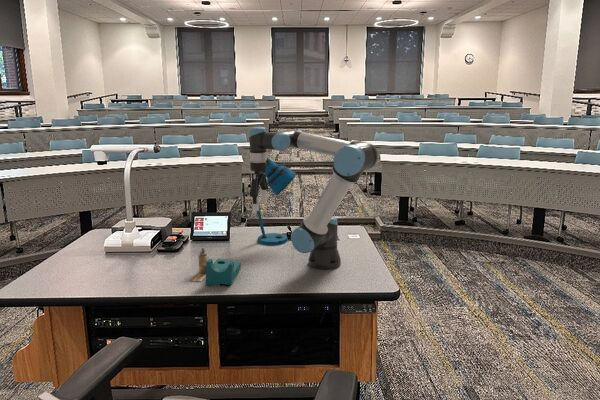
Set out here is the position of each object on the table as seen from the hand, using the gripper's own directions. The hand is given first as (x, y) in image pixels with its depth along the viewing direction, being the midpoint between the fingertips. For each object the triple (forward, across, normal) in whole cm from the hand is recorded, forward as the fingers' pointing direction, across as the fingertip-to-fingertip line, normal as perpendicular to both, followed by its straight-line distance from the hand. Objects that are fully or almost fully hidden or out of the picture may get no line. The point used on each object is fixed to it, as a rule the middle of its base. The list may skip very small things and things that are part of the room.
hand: (259, 207), depth 225 cm
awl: (+26, +19, -21) cm, 39 cm away
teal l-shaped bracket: (+27, +23, -11) cm, 37 cm away
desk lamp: (+27, -32, -1) cm, 41 cm away
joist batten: (+26, +21, -21) cm, 40 cm away
